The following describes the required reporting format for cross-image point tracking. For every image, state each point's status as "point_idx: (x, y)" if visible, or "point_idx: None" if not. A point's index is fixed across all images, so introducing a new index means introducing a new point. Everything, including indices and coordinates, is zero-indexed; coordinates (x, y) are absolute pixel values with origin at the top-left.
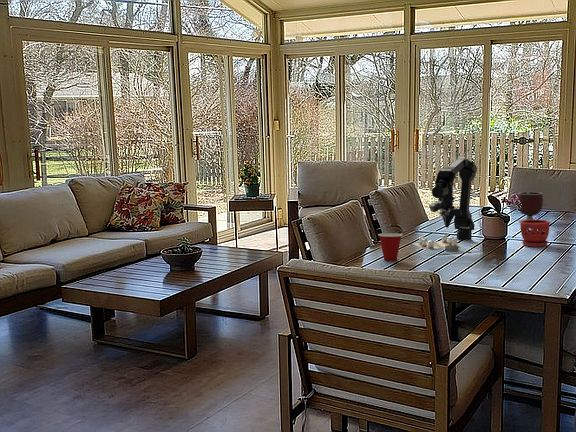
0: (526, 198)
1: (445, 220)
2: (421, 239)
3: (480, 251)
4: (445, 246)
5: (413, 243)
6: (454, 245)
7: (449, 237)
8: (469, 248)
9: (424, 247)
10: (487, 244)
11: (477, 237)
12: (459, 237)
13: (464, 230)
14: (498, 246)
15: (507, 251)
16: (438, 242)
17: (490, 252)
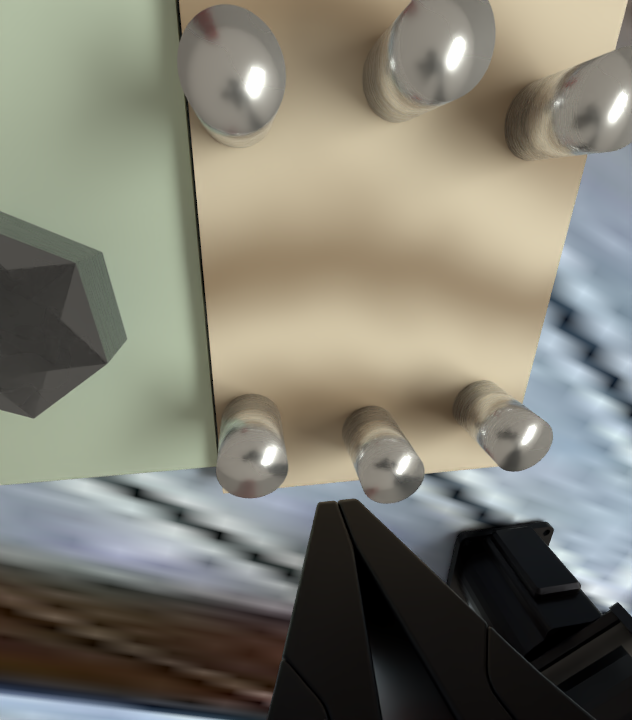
0: None
1: (312, 691)
2: (563, 80)
3: (64, 559)
4: (12, 243)
5: (620, 10)
6: (73, 387)
7: (383, 453)
8: (221, 520)
9: (302, 17)
10: None
11: None
12: (507, 556)
13: (522, 650)
14: (230, 687)
15: (31, 702)
16: (495, 345)
17: (4, 610)
